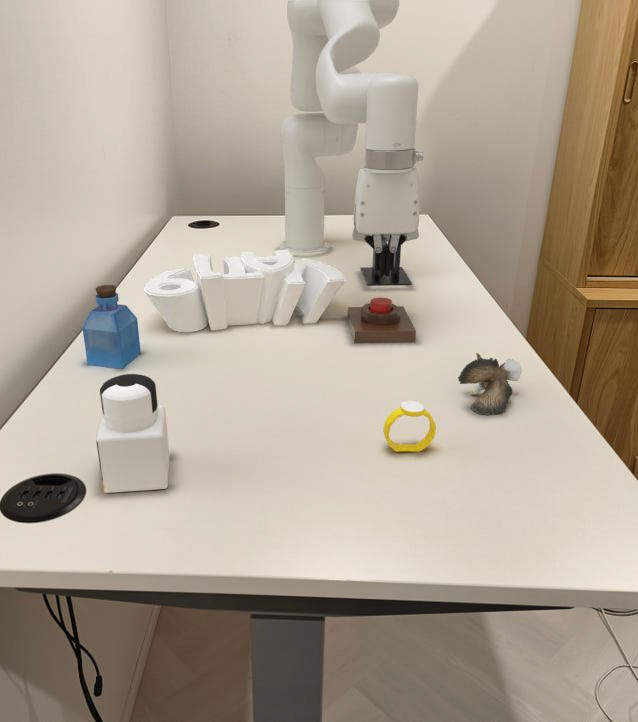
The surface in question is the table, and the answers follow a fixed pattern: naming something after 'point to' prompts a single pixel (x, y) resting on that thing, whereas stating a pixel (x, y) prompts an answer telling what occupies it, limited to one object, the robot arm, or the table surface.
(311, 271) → the white letter sculpture
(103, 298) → the perfume bottle
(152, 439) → the medicine bottle
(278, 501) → the table surface
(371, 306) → the button
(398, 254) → the lever bracket
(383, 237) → the press lever
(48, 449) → the table surface
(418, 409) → the watch
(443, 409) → the table surface
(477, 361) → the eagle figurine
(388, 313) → the button block
